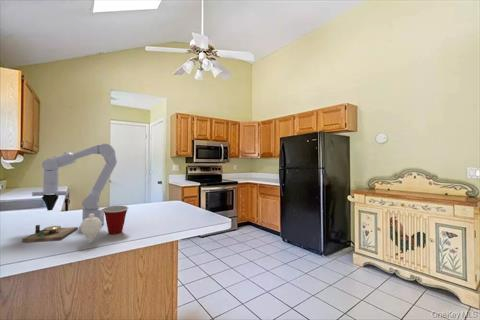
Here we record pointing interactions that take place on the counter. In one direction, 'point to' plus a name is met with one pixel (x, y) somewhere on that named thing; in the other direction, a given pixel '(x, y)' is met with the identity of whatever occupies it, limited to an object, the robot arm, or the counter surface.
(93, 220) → the cream vase
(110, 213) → the plastic cup
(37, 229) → the dial
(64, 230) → the dial board
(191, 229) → the counter surface
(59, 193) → the robot arm
